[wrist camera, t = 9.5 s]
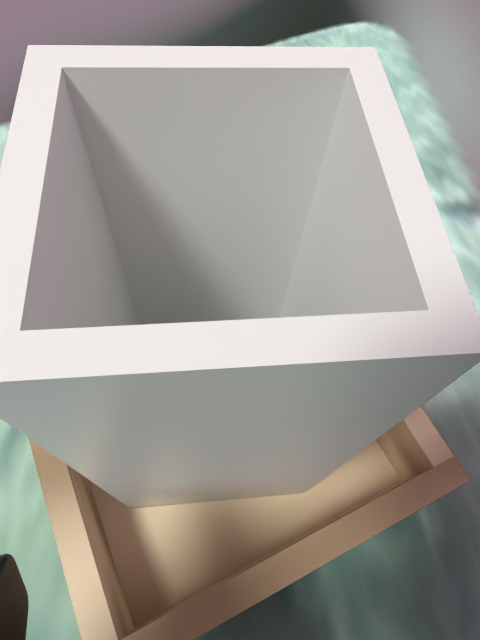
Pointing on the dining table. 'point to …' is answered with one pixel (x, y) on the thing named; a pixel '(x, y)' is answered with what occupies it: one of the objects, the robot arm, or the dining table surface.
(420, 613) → the dining table surface
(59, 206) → the white square vase
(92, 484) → the tray
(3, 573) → the robot arm
